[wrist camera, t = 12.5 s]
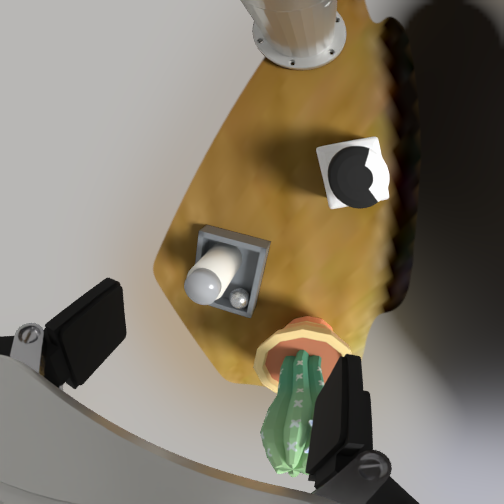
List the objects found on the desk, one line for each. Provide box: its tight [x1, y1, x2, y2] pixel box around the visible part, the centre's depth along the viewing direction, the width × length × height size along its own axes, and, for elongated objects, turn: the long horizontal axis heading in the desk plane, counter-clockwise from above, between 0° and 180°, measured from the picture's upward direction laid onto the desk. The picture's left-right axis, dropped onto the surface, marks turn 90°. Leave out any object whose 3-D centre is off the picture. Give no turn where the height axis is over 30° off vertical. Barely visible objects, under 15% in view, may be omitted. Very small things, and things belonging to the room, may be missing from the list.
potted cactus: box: [253, 316, 352, 477], centre depth 34 cm, size 15×15×25 cm
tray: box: [195, 225, 271, 318], centre depth 43 cm, size 12×10×3 cm
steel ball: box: [229, 288, 250, 309], centre depth 43 cm, size 3×3×3 cm
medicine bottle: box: [316, 137, 389, 209], centre depth 29 cm, size 7×7×12 cm
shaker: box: [184, 242, 242, 305], centre depth 39 cm, size 5×5×10 cm
